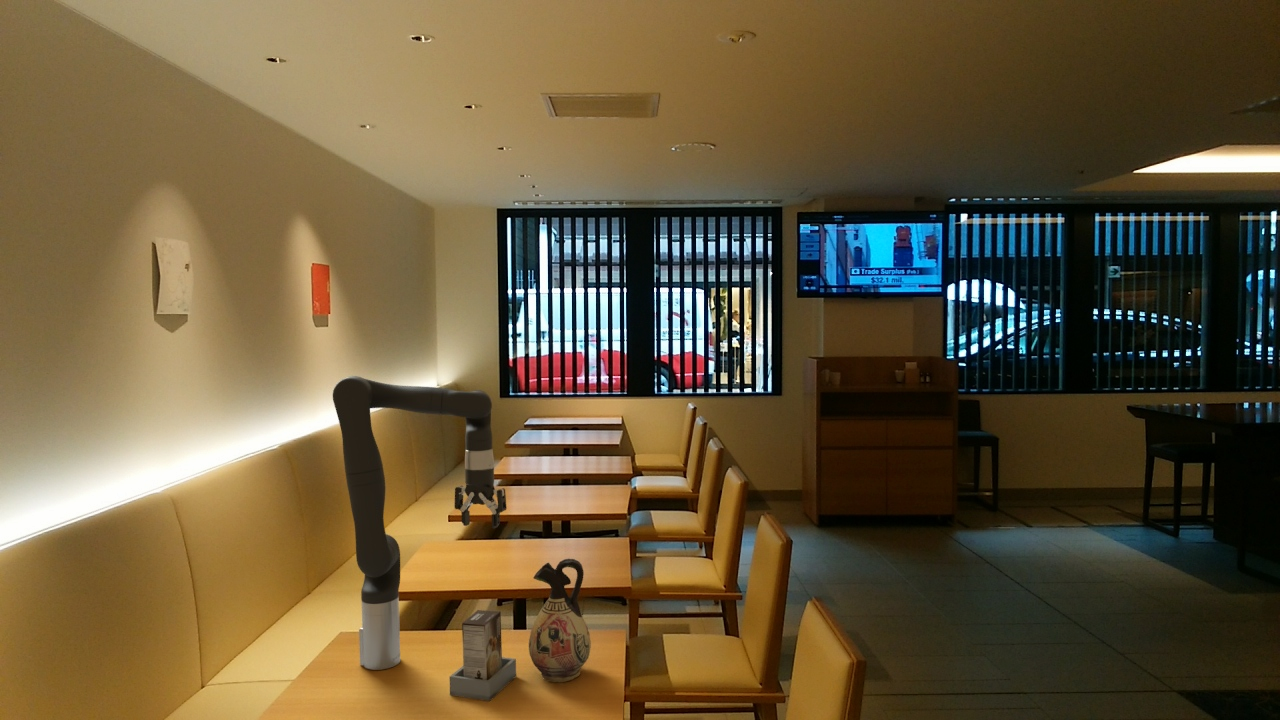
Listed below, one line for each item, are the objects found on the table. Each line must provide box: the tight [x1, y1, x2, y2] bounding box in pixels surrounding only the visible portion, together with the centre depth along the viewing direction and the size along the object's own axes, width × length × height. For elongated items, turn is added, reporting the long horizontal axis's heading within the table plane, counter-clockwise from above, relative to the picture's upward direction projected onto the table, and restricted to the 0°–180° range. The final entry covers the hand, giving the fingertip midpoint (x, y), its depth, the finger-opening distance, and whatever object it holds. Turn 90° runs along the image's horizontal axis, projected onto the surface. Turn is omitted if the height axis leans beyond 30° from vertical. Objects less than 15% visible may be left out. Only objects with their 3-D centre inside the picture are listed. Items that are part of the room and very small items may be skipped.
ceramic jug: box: [528, 558, 592, 683], centre depth 204 cm, size 17×15×30 cm
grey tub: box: [449, 656, 517, 702], centre depth 199 cm, size 11×14×4 cm
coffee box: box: [461, 609, 503, 680], centre depth 199 cm, size 9×6×16 cm
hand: (480, 526), depth 218 cm, fingers open, 8 cm apart
